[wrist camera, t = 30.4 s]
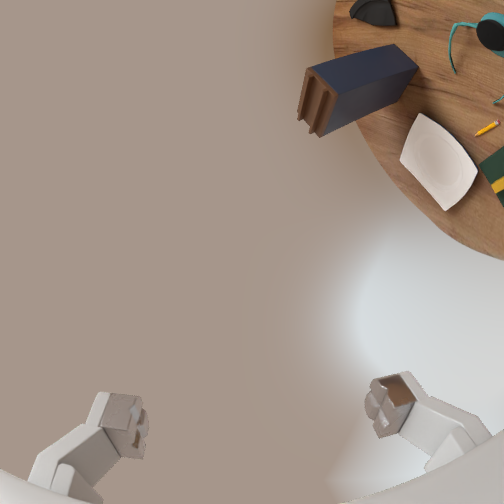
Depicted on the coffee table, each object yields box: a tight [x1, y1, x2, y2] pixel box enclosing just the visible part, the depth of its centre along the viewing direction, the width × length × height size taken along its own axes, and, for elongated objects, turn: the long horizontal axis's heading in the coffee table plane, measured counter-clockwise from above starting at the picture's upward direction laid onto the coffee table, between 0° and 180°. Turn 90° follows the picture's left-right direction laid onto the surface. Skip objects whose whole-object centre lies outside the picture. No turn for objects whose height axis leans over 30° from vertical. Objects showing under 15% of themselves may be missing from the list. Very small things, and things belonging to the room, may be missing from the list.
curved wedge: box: [349, 0, 397, 26], centre depth 44 cm, size 8×14×2 cm, turn 127°
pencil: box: [475, 120, 500, 136], centre depth 40 cm, size 1×9×1 cm, turn 173°
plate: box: [400, 113, 478, 211], centre depth 58 cm, size 20×20×3 cm
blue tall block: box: [297, 44, 418, 138], centre depth 52 cm, size 14×8×27 cm, turn 0°
